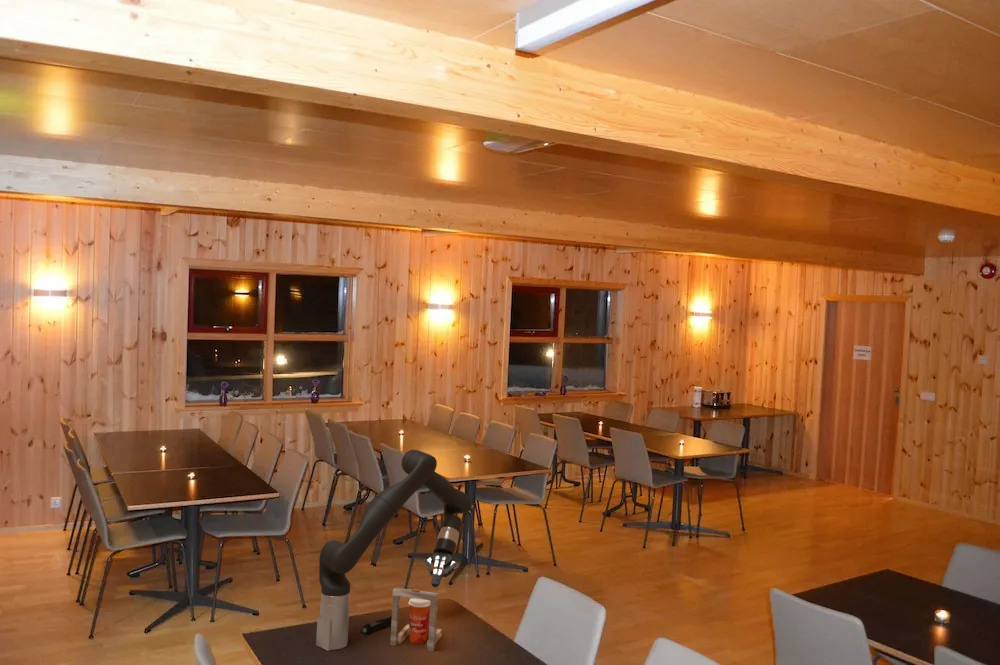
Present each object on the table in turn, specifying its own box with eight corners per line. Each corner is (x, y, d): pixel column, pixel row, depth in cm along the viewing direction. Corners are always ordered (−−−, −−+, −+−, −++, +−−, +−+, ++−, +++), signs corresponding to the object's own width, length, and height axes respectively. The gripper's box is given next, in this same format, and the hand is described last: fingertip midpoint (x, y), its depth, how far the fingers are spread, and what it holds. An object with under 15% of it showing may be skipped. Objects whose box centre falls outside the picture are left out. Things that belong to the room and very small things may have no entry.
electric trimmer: (400, 624, 277) (400, 615, 277) (366, 636, 265) (367, 626, 265) (392, 621, 280) (393, 612, 280) (359, 633, 268) (359, 623, 268)
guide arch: (403, 630, 271) (406, 576, 271) (445, 637, 267) (448, 581, 267) (389, 645, 258) (392, 587, 258) (432, 652, 255) (435, 593, 255)
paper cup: (402, 643, 261) (404, 601, 260) (411, 634, 268) (414, 593, 268) (424, 647, 258) (426, 604, 258) (433, 638, 266) (435, 597, 265)
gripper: (427, 535, 288) (414, 578, 277) (462, 539, 285) (450, 583, 273) (431, 545, 294) (418, 588, 282) (465, 550, 290) (454, 593, 279)
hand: (434, 586), depth 278 cm, fingers closed
